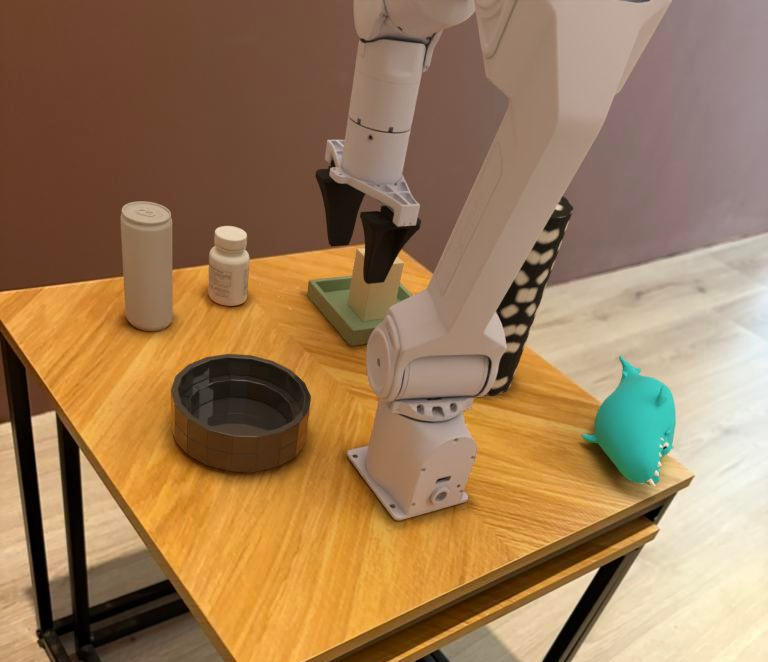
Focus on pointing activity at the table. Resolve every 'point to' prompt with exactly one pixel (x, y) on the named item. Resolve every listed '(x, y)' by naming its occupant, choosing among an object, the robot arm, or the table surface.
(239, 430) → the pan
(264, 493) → the table surface
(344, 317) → the tray
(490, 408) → the table surface
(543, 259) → the white-spotted black cylinder
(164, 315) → the beverage can
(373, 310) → the block
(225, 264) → the pill bottle
